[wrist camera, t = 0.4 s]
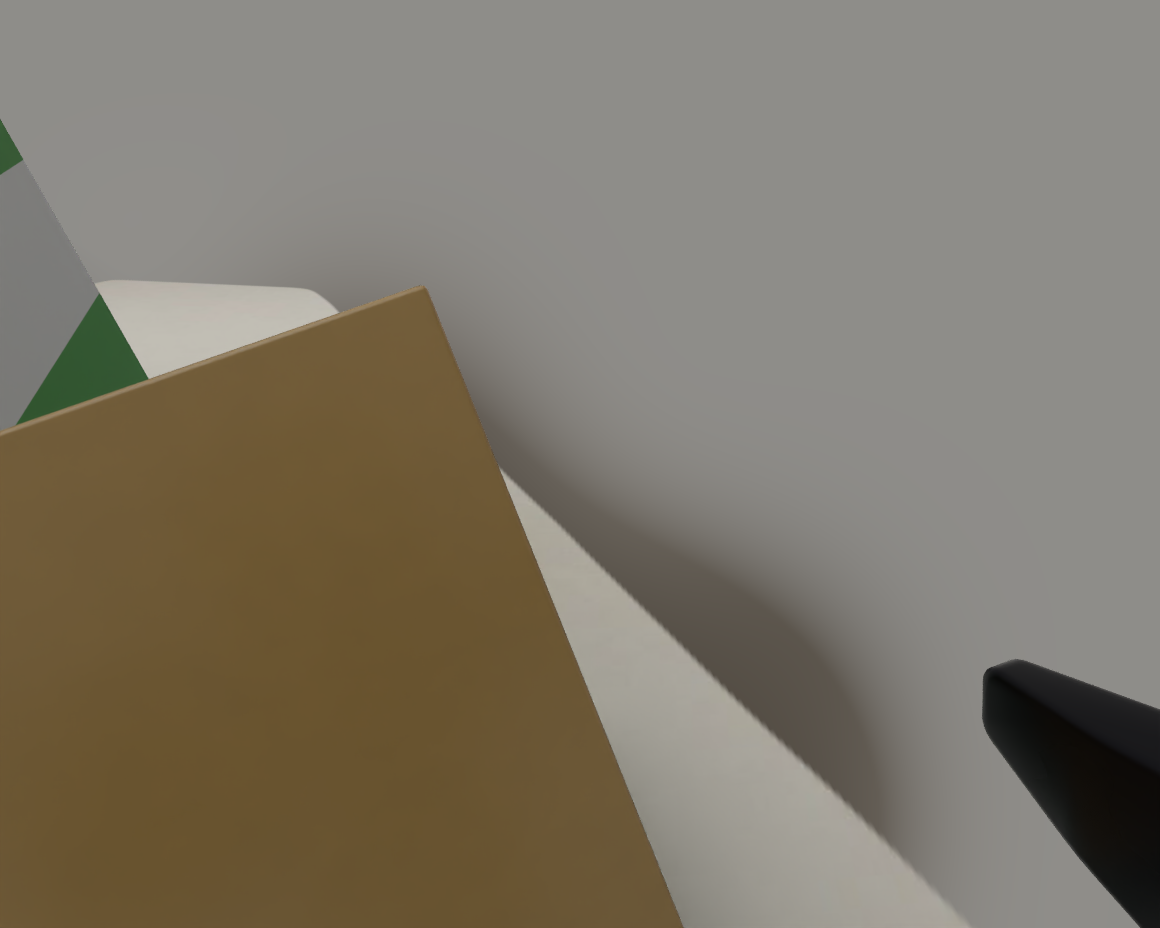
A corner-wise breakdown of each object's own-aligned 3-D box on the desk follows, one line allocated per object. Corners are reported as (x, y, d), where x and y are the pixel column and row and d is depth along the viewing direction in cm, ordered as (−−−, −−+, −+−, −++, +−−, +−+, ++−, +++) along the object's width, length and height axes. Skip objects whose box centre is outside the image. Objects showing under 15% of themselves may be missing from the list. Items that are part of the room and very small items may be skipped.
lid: (-643, 661, 8) (-745, 687, 7) (417, 290, 11) (425, 281, 10) (40, 1556, 11) (21, 1644, 10) (722, 1045, 14) (745, 1080, 13)
